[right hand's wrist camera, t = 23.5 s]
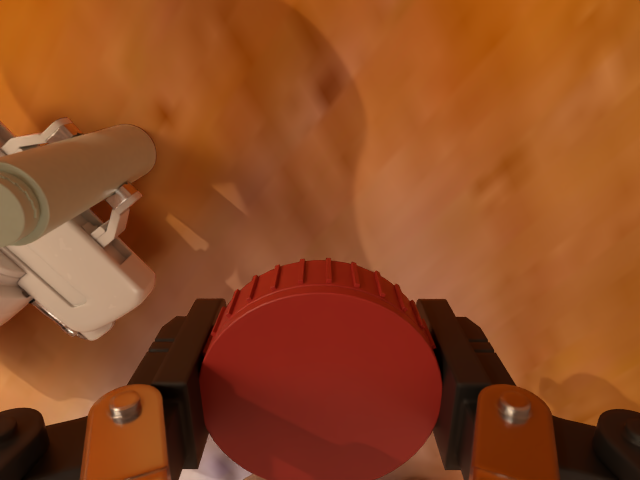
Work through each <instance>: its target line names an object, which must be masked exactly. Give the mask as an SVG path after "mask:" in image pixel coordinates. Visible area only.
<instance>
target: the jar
mask: <svg viewBox="0 0 640 480" xmlns="http://www.w3.org/2000/svg"><path fill="white" fill-rule="evenodd" d="M155 161H156V149H155V146H154V143H153V141H152V140H151V138H150V137H149V135H148V134H147V133H146V132H144V131H143V130H142V129H140V128H138V127H136V126H133V125H129V124H121V125H117V126H113V127H109V128H106V129H102V130H98V131H95V132H91V133H87V134H84V135H80V136H76V137H73V138H69V139H65V140H62V141H58V142H54V143H51V144H47V145H43V146H40V147H36V148H32V149H28V150H25V151H21V152H17V153H14V154H10V155H6V156H3V157H0V248H1V247H6V246H22V245H27V244H30V243H32V242H34V241H36V240H38V239H39V238H41V237H43V236H44V235H46V234H48V233H49V232H51V231H53V230H54V229H56V228H58V227H59V226H61V225H63V224H64V223H66V222H68V221H69V220H71V219H73V218H74V217H76V216H78V215H79V214H81V213H83V212H84V211H86V210H87V209H89V208H91V207H92V206H94V205H96V204H97V203H99V202H101V201H102V200H104V199H106V198H107V197H109V196H111V195H112V194H114V193H115V191H116V190H117V189H118V188H120V187H121V186H122V185H124V184H126V183H127V182H130V183H132V182H134V181H136V180H137V179H139V178H141V177H142V176H144V175H145V174H147V173H148V172H149V171H150V170H151V169H152V168H153V166H154V164H155Z"/></svg>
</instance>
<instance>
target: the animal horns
mask: <svg viewBox="0 0 640 480" xmlns="http://www.w3.org/2000/svg"><path fill="white" fill-rule="evenodd" d="M243 480H266V479H263V478H261V477H259V476H256V475H254V474H252V475H250V476H248V477H247V478H245V479H243Z"/></svg>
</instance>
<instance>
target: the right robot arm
mask: <svg viewBox="0 0 640 480" xmlns="http://www.w3.org/2000/svg"><path fill="white" fill-rule="evenodd" d="M223 306H224V307H226V302H225V299H196V300H195V302H194V304H193V306H192V308H191V310H190V311H189V313H188V315H187V316H176V317H175V318H174V319H172V320H171V321H170V322H168V323H167V324H166V325H164V326H163V327H162V328H161V330H160V332H159V333H158V335H157V337H156V338H155V342H153V343H152V345H151V347H150V348H149V352H147V353H146V355H145V356H144V358H143V360H142V361H141V363H140V365H139V366H138V368H137V369H136V371H135V373H134V374H133V376H132V378H131V379H130V381H129V383H128V384H127V385H126V386H123V387H120V388H117V389H114V390H112V391H110V392H108V393H107V394H105V395H104V396H102V397H101V398H100V399H98V400H97V401H96V402H95V403H94V405H93V406H92V407H91V409H90V411H89V414H88V416H86V417H82V418H79V419H75V420H70V421H66V422H61V423H57V424H53V425H48V426H45V423H44V420H43V417H42V414H41V413H40V412H39V411H37V410H35V409H31V408H15V409H10V410H5V411H2V412H0V480H179V477H180V474H181V471H182V469H198V467H199V464H200V460H201V457H202V454H203V451H204V447H205V444H206V441H207V437H208V434H209V432H208V430H207V428H206V426H205V423H204V415H203V407H202V399H201V391H200V383H199V372H200V368H201V365H202V362H203V360H204V356H203V350H204V348H205V345H206V343H207V341H208V338H209V336H210V333H211V331H212V329H213V326H214V325H215V323H216V320H217V318H218V316H219V313H220V311H221V309H222V307H223ZM416 307H417V309H418V312H419V314H420V317H421V319H423V318H424V320H425V322H426V325H427V327H428V329H429V332H430V334H431V337H432V339H433V341H434V344H435V346H436V348H435V349H433V351H434V354H435V356H436V359H437V362H438V365H439V367H440V371H441V376H442V382H443V387H442V396H441V404H440V412H439V417H438V420H437V423H436V425H435V427H434V429H433V433H434V436H435V439H436V442H437V446H438V449H439V452H440V455H441V459H442V462H443V465H444V468H445V470H461V472H462V475H463V477H464V480H640V413H638V412H635V411H630V410H624V409H613V410H608V411H605V412H604V413H602V414H601V415H600V417H599V419H598V423H597V426H591V425H587V424H583V423H578V422H574V421H570V420H565V419H562V418H558V417H555V416H553V415H552V414H551V411H550V409H549V407H548V406H547V405H546V403H545V402H544V401H543V400H542V399H540V398H539V397H538V396H536V395H535V394H533V393H532V392H530V391H528V390H526V389H523V388H520V387H517V386H516V385H515V383H514V381H513V380H512V378H511V377H510V375H509V373H508V372H507V370H506V368H505V367H504V365H503V364H502V362H501V360H500V359H499V357H498V356H497V354H496V353H494V349H493V347H492V346H491V344H490V343H489V342H488V339H487V338H486V336H485V335H484V333H483V331H482V330H481V328H480V327H479V326H477V325H476V324H475V323H473V322H472V321H471V320H469V319H468V318H467V317H455V315H454V313H453V311H452V309H451V307H450V306H449V304H448V302H447V300H446V299H418V300H417V303H416Z"/></svg>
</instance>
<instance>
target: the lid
mask: <svg viewBox="0 0 640 480" xmlns="http://www.w3.org/2000/svg"><path fill="white" fill-rule="evenodd" d="M435 348H436V346H435V344H434V341H433V339H432V337H431V334H430V332H429V329H428V327H427V325H426V322H425V320H424V318H423V319H421V317H420V314H419V312H418V309H417V307H416V304H415V302H414V301H413V300H411V301H409V300H408V298H407V297H406V296H405V295H404V294H403V293H402V292H401V289H400V286H399V285H398V284H395V285H393V284H392V283H390V282H389V281H388V280H386V279H385V278H383V277H381V276H380V272H378V271H375V272H372V271H370V270H367V269H365V268H362V267H360V266H357V265H356V263H355V262H352V263H351V264H348V263H345V262H337V261H331V258H326V260H312V261H305V259H300V262H296V263H292V264H288V265H284V266H281V267H280V265H276V266H275V269H273V270H270V271H268V272H266V273H264V274H263V275H261V276H259V277H258V276H257V275H255V276H254V277H253V279H252V281H251V282H250V283H248V284H247V285H246V286H245V287H244V288H242V289H241V290H238V289H237V290H236V291H235V292H234V295H233V298H232V300H231V301H230V303H229V304H228V305H227V307H224V306H223V307H222V309H221V311H220V313H219V316H218V318H217V320H216V323H215V325H214V326H213V329H212V331H211V333H210V336H209V338H208V341H207V343H206V345H205V348H204V350H203V356H204V360H203V362H202V365H201V368H200V372H199V383H200V391H201V399H202V407H203V415H204V423H205V426H206V428H207V430H208V432H209V434H210V435H211V437H212V438H213V440H214V441H215V443H216V444H217V445H218V446H219V447H220V449H221V450H222V451H223V452H224V453H225V454H226V455H227V456H228V457H229V458H231V459H232V460H233V461H234V462H235V463H237V464H238V465H240V466H241V467H242V468H244V469H246V470H247V471H249V472H251V473H253V474H254V475H256V476H259V477H261V478H263V479H266V480H375V479H377V478H380V477H382V476H384V475H386V474H388V473H390V472H391V471H393V470H395V469H396V468H398V467H399V466H401V465H402V464H404V463H405V462H406V461H407V460H409V459H410V458H411V457H412V456H413V455H414V454H415V453H416V452H417V451H418V450H419V449H420V448H421V447H422V446H423V444H424V443H425V442H426V440H427V439H428V437H429V436H430V434H431V433H432V431H433V429H434V427H435V425H436V423H437V420H438V417H439V412H440V404H441V396H442V387H443V382H442V376H441V371H440V367H439V365H438V362H437V359H436V356H435V354H434V351H433V349H435Z"/></svg>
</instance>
